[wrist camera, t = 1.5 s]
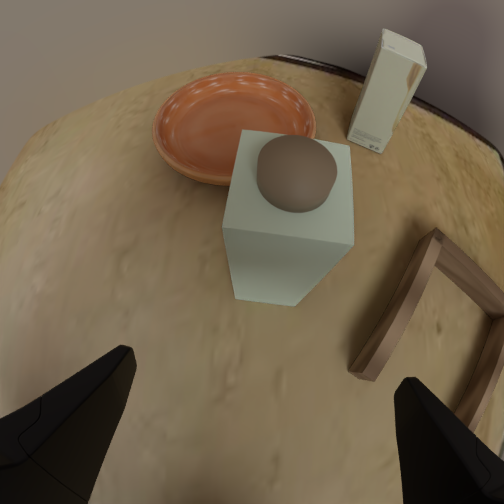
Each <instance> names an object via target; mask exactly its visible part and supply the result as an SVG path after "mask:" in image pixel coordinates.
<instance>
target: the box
mask: <svg viewBox="0 0 504 504" xmlns="http://www.w3.org/2000/svg"><path fill="white" fill-rule="evenodd" d="M434 265H435V266H436V267H437V268H438V269H439V270H441V271H442V272H443V273H444V274H445V275H446V276H447V277H448V278H450V279H451V280H452V281H453V282H454V283H455V284H456V285H457V286H458V287H460V288H461V289H462V290H463V291H464V292H465V293H466V294H467V295H468V296H469V297H470V298H471V299H472V300H473V301H474V302H475V303H476V304H477V305H479V306H480V307H481V308H482V309H483V310H484V311H485V312H486V313H487V314H488V315H489V316H490V317H491V318H492V320H493V322H492V325H491V328H490V332H489V335H488V337H487V340H486V343H485V346H484V349H483V351H482V354H481V357H480V359H479V362H478V364H477V367H476V369H475V371H474V374H473V376H472V378H471V380H470V383H469V385H468V387H467V389H466V391H465V393H464V395H463V397H462V399H461V401H460V403H459V405H458V407H457V409H456V411H455V413H454V414H455V415H456V416H457V417H458V418H459V419H460V420H461V421H462V422H463V423H464V424H465V425H466V426H467V427H468V428H469V429H470V430H471V431H472V432H473V433H474V431H475V429H476V427H477V425H478V423H479V421H480V419H481V417H482V415H483V413H484V411H485V409H486V407H487V405H488V402H489V400H490V398H491V396H492V393H493V391H494V389H495V386H496V384H497V381H498V379H499V376H500V374H501V371H502V368H503V365H504V292H503V291H502V290H501V289H500V288H499V287H498V286H497V285H496V284H495V283H494V282H493V281H492V280H491V279H490V277H489V276H488V275H487V274H486V273H485V272H484V271H483V270H482V269H481V268H480V267H479V266H478V265H477V264H476V263H475V262H474V261H473V260H472V259H471V258H469V257H468V256H467V255H466V254H465V253H464V252H463V251H462V250H461V249H460V248H459V247H458V246H457V245H456V244H454V243H453V242H452V241H451V240H450V239H449V238H448V237H447V236H445V235H444V234H443V233H442V232H441V231H440V230H439V229H437V228H435V229H433V230H432V231H431V232H430V233H428V234H427V235H426V236H425V237H423V238H422V239H421V240H420V241H419V243H418V245H417V248H416V250H415V252H414V254H413V256H412V259H411V261H410V263H409V265H408V267H407V269H406V271H405V273H404V275H403V277H402V279H401V281H400V283H399V285H398V287H397V289H396V291H395V293H394V295H393V297H392V299H391V301H390V303H389V304H388V306H387V308H386V310H385V312H384V314H383V315H382V317H381V319H380V321H379V322H378V324H377V326H376V328H375V329H374V331H373V333H372V334H371V336H370V338H369V339H368V341H367V342H366V344H365V346H364V347H363V349H362V350H361V352H360V354H359V355H358V357H357V358H356V360H355V361H354V363H353V364H352V366H351V367H350V369H349V370H348V372H350V373H351V374H352V375H354V376H355V377H357V378H358V379H362V380H368V381H374V382H375V380H376V379H377V377H378V375H379V374H380V372H381V371H382V369H383V367H384V366H385V364H386V362H387V361H388V359H389V357H390V356H391V354H392V352H393V350H394V349H395V347H396V345H397V343H398V341H399V340H400V338H401V336H402V334H403V332H404V330H405V328H406V326H407V324H408V322H409V321H410V319H411V317H412V315H413V312H414V310H415V308H416V306H417V304H418V302H419V300H420V298H421V296H422V293H423V291H424V289H425V287H426V284H427V282H428V280H429V277H430V275H431V272H432V270H433V268H434Z"/></svg>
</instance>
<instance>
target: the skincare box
mask: <svg viewBox="0 0 504 504" xmlns="http://www.w3.org/2000/svg"><path fill="white" fill-rule="evenodd" d="M426 69H427V63H426V58H425V54H424V51H423V48H422V46H421V45H420V44H417V43H416V42H414V41H412V40H410V39H408V38H405V37H403V36H401V35H399V34H396V33H394V32H392V31H389V30H387V29H383V30H382V33H381V36H380V39H379V42H378V45H377V48H376V51H375V54H374V57H373V59H372V62H371V65H370V68H369V71H368V74H367V76H366V79H365V82H364V85H363V88H362V90H361V93H360V96H359V98H358V101H357V104H356V106H355V109H354V112H353V115H352V119H351V122H350V126H349V130H348V135H347V140H350V141H352V142H354V143H357V144H359V145H361V146H363V147H366V148H368V149H371V150H373V151H375V152H378V153H380V154H382V152H383V150H384V149H385V147H386V145H387V143H388V141H389V140H390V138H391V136H392V134H393V132H394V130H395V129H396V127H397V125H398V123H399V121H400V120H401V118H402V116H403V114H404V112H405V110H406V108H407V106H408V104H409V102H410V100H411V98H412V97H413V95H414V92H415V91H416V89H417V87H418V85H419V83H420V81H421V79H422V77H423V75H424V73H425V71H426Z"/></svg>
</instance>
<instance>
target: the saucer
mask: <svg viewBox="0 0 504 504" xmlns="http://www.w3.org/2000/svg"><path fill="white" fill-rule="evenodd" d="M242 130H253V131H262V132H270V133H278V134H285V135H300V136H305V137H308V138H311V139H314V138H315V134H316V120H315V116H314V113H313V110H312V108H311V107H310V105H309V103H308V102H307V101H306V99H305V98H304V97H303V96H302V95H301V94H300V93H299V92H298V91H296V90H295V89H294V88H292V87H291V86H289V85H287V84H286V83H284V82H282V81H279V80H277V79H275V78H272V77H269V76H265V75H261V74H255V73H248V72H227V73H219V74H214V75H209V76H206V77H202V78H200V79H197V80H195V81H192V82H190V83H188V84H186V85H184V86H183V87H181V88H180V89H178V90H177V91H175V92H174V93H173V94H172V95H171V96H170V97H168V98H167V99H166V101H165V102H164V103H163V104H162V105H161V107H160V108H159V110H158V112H157V114H156V116H155V118H154V122H153V127H152V135H153V140H154V144H155V146H156V148H157V150H158V152H159V153H160V155H161V156H162V158H163V159H164V160H165V161H166V162H167V164H168V165H170V166H171V167H172V168H173V169H175V170H176V171H177V172H179V173H181V174H182V175H184V176H186V177H189V178H191V179H194V180H196V181H200V182H204V183H208V184H214V185H225V186H230V184H231V179H232V174H233V169H234V165H235V160H236V155H237V151H238V146H239V142H240V137H241V133H242Z"/></svg>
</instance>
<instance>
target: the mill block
mask: <svg viewBox="0 0 504 504" xmlns="http://www.w3.org/2000/svg"><path fill="white" fill-rule="evenodd" d="M222 231H223V236H224V242H225V247H226V253H227V258H228V263H229V269H230V274H231V279H232V284H233V289H234V294H235V299H239V300H247V301H254V302H262V303H270V304H278V305H286V306H294V307H295V306H296V305H297V304H298V303H299V302H300V301H301V300H302V299H303V298H304V297H305V296H306V295H307V294H308V293H309V292H310V291H311V290H312V289H313V288H314V287H315V286H316V285H317V284H318V283H319V282H320V281H321V280H322V279H323V278H324V277H325V275H326V274H327V273H328V272H329V271H330V270H331V269H332V268H333V267H334V266H335V265H336V264H337V263H338V262H339V261H340V260H341V259H342V258H343V257H344V256H345V254H346V253H347V252H348V251H349V250H350V249H351V248H352V247H353V246H354V211H353V187H352V171H351V157H350V146H348V145H343V144H338V143H333V142H328V141H322V140H317V139H311V138H308V137H305V136H300V135H285V134H278V133H270V132H262V131H253V130H242V133H241V137H240V142H239V146H238V151H237V155H236V160H235V165H234V169H233V174H232V179H231V184H230V189H229V193H228V198H227V203H226V208H225V213H224V218H223V224H222Z"/></svg>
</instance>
